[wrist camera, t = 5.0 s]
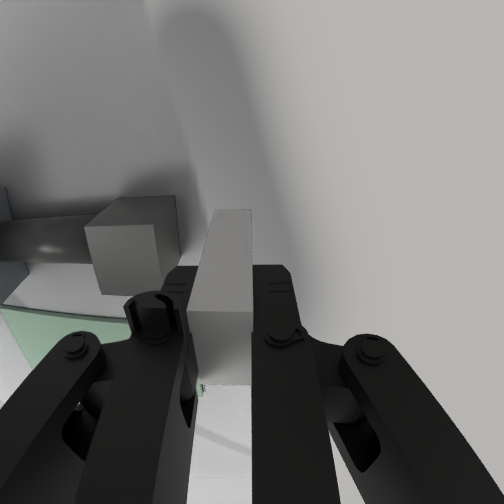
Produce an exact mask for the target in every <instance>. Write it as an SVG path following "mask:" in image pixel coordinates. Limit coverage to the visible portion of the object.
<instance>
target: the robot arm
mask: <svg viewBox="0 0 504 504" xmlns="http://www.w3.org/2000/svg"><path fill="white" fill-rule="evenodd" d="M123 307H124V311H125V314H126V317H127V321H128V324H129V327H130V330H131V333H132V334H131V336H130V338H129V339H126V340H122V341H117V342H111V343H105V344H101V343H100V341H99V339H98V337H97V336H96V335H95V334H93V333H91V332H88V331H77V332H73V333H70V334H68V335H66V336H64V337H63V338H62V339H61V340H59V341H58V342H57V343H56V345H55V346H54V347H53V348H52V349H51V350H50V351H49V352H48V353H47V355H46V356H45V357H44V358H43V359H42V360H41V361H40V362H39V364H38V365H37V366H36V367H35V368H34V369H33V370H32V372H31V373H30V374H29V375H28V376H27V377H26V379H25V380H24V381H23V382H22V383H21V385H20V386H19V387H18V388H17V389H16V391H15V392H14V393H13V394H12V395H11V397H10V398H9V399H8V400H7V402H6V403H5V404H4V405H3V407H2V408H1V409H0V504H186V502H187V492H188V482H189V473H190V464H191V455H192V446H193V437H194V429H195V421H196V413H197V405H198V395H197V390H196V384H197V378H199V382H200V384H207V385H251V410H252V504H341V503H340V496H339V489H338V483H337V477H336V471H335V465H334V459H333V453H332V447H331V442H330V436H329V432H330V434H331V436H332V438H333V440H334V442H335V444H336V446H337V448H338V450H339V452H340V454H341V456H342V458H343V460H344V462H345V464H346V466H347V468H348V470H349V472H350V474H351V476H352V478H353V480H354V482H355V484H356V486H357V488H358V490H359V492H360V494H361V496H362V498H363V500H364V502H365V504H504V495H503V494H502V492H501V491H500V489H499V487H498V486H497V484H496V483H495V481H494V480H493V478H492V477H491V475H490V474H489V472H488V471H487V469H486V468H485V466H484V465H483V463H482V462H481V460H480V459H479V458H478V456H477V455H476V453H475V452H474V450H473V449H472V448H471V446H470V445H469V443H468V442H467V441H466V439H465V438H464V436H463V435H462V434H461V432H460V431H459V429H458V428H457V427H456V425H455V424H454V423H453V421H452V420H451V419H450V417H449V416H448V414H447V413H446V412H445V411H444V409H443V408H442V406H441V405H440V404H439V402H438V401H437V400H436V399H435V397H434V396H433V395H432V393H431V392H430V391H429V389H428V388H427V387H426V385H425V384H424V383H423V382H422V380H421V379H420V378H419V377H418V375H417V374H416V373H415V371H414V370H413V369H412V368H411V367H410V365H409V364H408V363H407V361H406V360H405V359H404V358H403V357H402V355H401V354H400V353H399V351H398V350H397V349H396V348H395V346H394V345H392V344H391V343H390V342H389V341H388V340H386V339H385V338H382V337H380V336H378V335H373V334H360V335H356V336H354V337H352V338H350V339H349V340H348V341H347V342H346V343H345V344H344V346H339V345H334V344H328V343H325V342H321V341H319V340H316V339H314V338H312V337H311V336H310V335H308V332H307V330H306V329H305V328H304V327H303V326H302V325H301V321H300V317H299V312H298V308H297V302H296V298H295V293H294V288H293V284H292V279H291V274H290V272H289V271H288V270H287V269H286V268H285V267H284V266H283V265H252V219H251V210H215V212H214V215H213V219H212V222H211V225H210V229H209V232H208V235H207V239H206V242H205V245H204V249H203V252H202V256H201V259H200V263H199V266H176V267H175V268H174V269H172V270H171V271H170V272H169V273H168V274H167V276H166V278H165V280H164V283H163V285H162V288H161V290H160V291H158V290H156V291H146V292H143V293H140V294H137V295H135V296H134V297H132V298H131V299H129V300H128V301H127V302H126V303H125V305H124V306H123ZM79 402H80V404H79ZM78 404H79V405H78ZM77 405H78V406H77ZM76 406H77V407H76ZM328 430H329V431H328Z"/></svg>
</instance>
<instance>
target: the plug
mask: <svg viewBox="0 0 504 504" xmlns="http://www.w3.org/2000/svg"><path fill="white" fill-rule="evenodd" d="M180 258H181V252H180V243H179V234H178V225H177V215H176V204H175V196H153V197H133V198H117V199H116V200H115V201H113V202H112V203H111V204H110V205H109V206H107V207H106V208H105V209H104V210H103V211H102V212H100V213H99V214H89V215H73V216H59V217H45V218H33V219H22V220H12V217H11V212H10V208H9V204H8V199H7V194H6V190H5V187H2V188H0V306H1V304H2V303H3V302H4V301H5V300H6V299H7V298H8V297H9V295H10V294H11V293H12V292H13V291H14V290H15V289H16V288H17V287H18V286H19V285H20V283H21V282H22V281H23V280H24V279H25V278H26V277H27V276H28V275H29V273H28V270H27V267H26V264H25V262H31V263H79V264H93V266H94V270H95V273H96V277H97V281H98V284H99V287H100V291H101V294H102V295H120V296H135V295H137V294H140V293H143V292H146V291H156V290H158V291H160V290H161V288H162V285H163V283H164V280H165V278H166V276H167V274H168V273H169V272H170V271H171V270H172V269H174V268H175V267H176V266H177V265H178V263H179V260H180Z"/></svg>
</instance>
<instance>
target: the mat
mask: <svg viewBox="0 0 504 504" xmlns="http://www.w3.org/2000/svg"><path fill="white" fill-rule="evenodd" d="M0 311H1V313H2V316H3V318H4V320H5V322H6V324H7V326H8V328H9V329H10V331H11V333H12V335H13V337H14V339H15V341H16V342H17V344H18V346H19V348H20V350H21V351H22V353H23V355H24V356H25V358H26V360H27V361H28V363H29V365H30V366H31V368H32V369H34V368H35V367H36V366H37V365H38V364H39V362H40V361H41V360H42V359H43V358H44V357H45V356H46V355H47V353H48V352H49V351H50V350H51V349H52V348H53V347H54V346H55V345H56V343H57V342H58V341H59V340H61V339H62V338H63V337H64V336H66V335H68V334H70V333H73V332H77V331H88V332H91V333H93V334H95V335H96V336H97V337H98V339H99V341H100V343H101V344H105V343H111V342H117V341H122V340H126V339H129V338H130V336H131V334H132V333H131V330H130V327H129V324H128V321H127V319H114V318H102V317H91V316H81V315H71V314H62V313H54V312H46V311H38V310H31V309H24V308H17V307H11V306H5V305H1V306H0ZM196 390H197V395H198V396H203V390H202V385H201V384H200V382H199V378H197V384H196Z"/></svg>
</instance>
